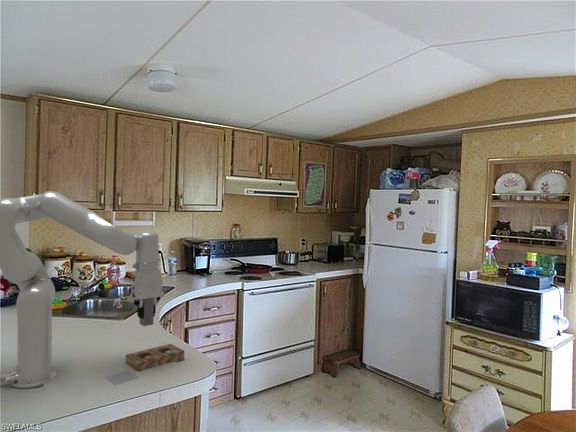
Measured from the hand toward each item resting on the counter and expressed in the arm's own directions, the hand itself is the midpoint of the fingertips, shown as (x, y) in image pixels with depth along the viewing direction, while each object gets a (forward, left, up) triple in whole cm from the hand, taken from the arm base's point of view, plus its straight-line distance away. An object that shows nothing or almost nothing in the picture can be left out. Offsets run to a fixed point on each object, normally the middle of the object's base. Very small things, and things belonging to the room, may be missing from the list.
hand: (146, 316), depth 145 cm
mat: (-11, -6, -18) cm, 22 cm away
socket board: (+4, 0, -18) cm, 18 cm away
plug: (0, 0, -3) cm, 3 cm away
